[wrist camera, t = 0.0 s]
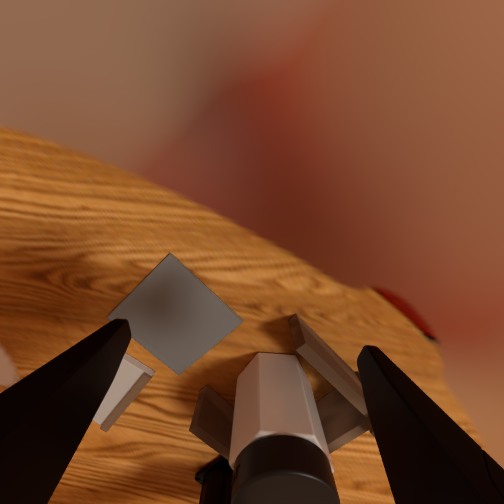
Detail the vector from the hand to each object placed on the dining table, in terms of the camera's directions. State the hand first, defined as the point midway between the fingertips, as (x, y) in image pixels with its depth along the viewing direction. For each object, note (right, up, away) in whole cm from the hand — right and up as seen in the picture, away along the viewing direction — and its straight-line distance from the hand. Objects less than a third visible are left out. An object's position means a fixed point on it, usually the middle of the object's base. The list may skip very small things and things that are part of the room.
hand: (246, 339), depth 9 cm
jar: (+3, -12, +20) cm, 23 cm away
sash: (-18, -13, +20) cm, 30 cm away
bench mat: (-9, -4, +17) cm, 20 cm away
